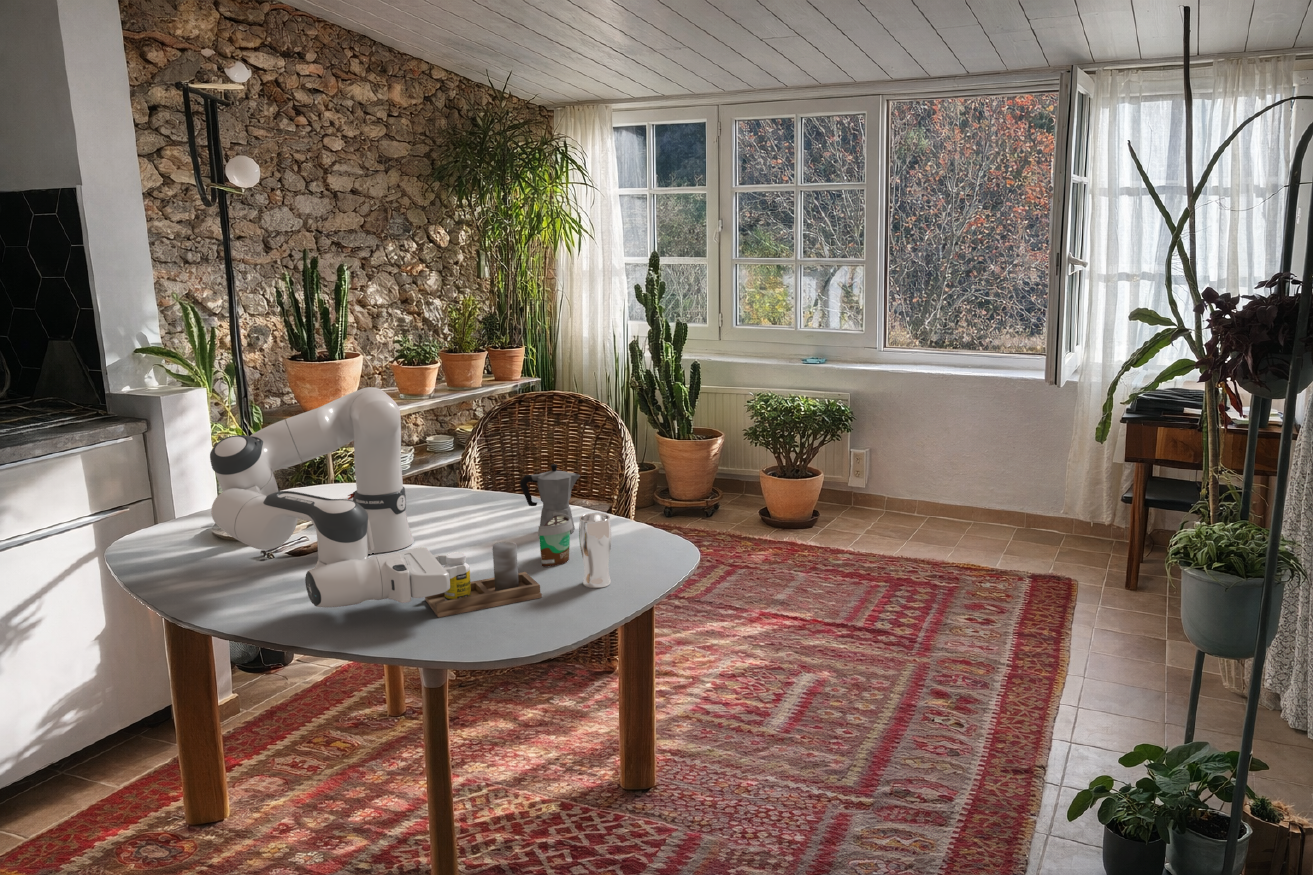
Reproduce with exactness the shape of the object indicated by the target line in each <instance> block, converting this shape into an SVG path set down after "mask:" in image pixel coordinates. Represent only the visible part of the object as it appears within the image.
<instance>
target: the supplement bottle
mask: <svg viewBox="0 0 1313 875" xmlns="http://www.w3.org/2000/svg"><path fill="white" fill-rule="evenodd" d="M466 561H467V558H466V553H464V552H460V551H456V552H455V551H453V552H449V553H448V554H446V563H447V564H446V565H443V567H444V568H445V567H448V568H450V567H454V566H455V565H456V564H463V565H464V566H465V567H466V573H465V574H461V575H457V576H455V577H453V578H451V579H450V589H449V590H448V591H446V592H444V594H445V601H446V600H452V599H457V598H462V597H468V596H471V584H470V582H471V570H470V565H469V564H468V563H467V562H466Z"/></svg>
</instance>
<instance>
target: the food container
mask: <svg viewBox="0 0 1313 875" xmlns="http://www.w3.org/2000/svg"><path fill="white" fill-rule="evenodd" d="M572 528H573V525H572V521H571V519H570V517H569V516H568V515H566V514H562V513H553V518H552V519H551V520H548V521H547V522H546V523H545V525H544V526H540V525H539V526H538V529H537V531H538V532H537V536H538V538H539V549H540V551H539V552H540V559H541V560H540V561H541V562H540V563H541V567H542V566H544V567H545V568H546V567H547V568H549V567H548V566H550V567H557V566H561V565H564V564H566V563H568V562H569V561H570V546H571V545H570V544H571V542H570V538H571V537H570V536H571V534H570V530H571V529H572ZM568 560H569V561H568ZM567 561H568V562H567ZM544 567H543V568H544Z"/></svg>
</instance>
